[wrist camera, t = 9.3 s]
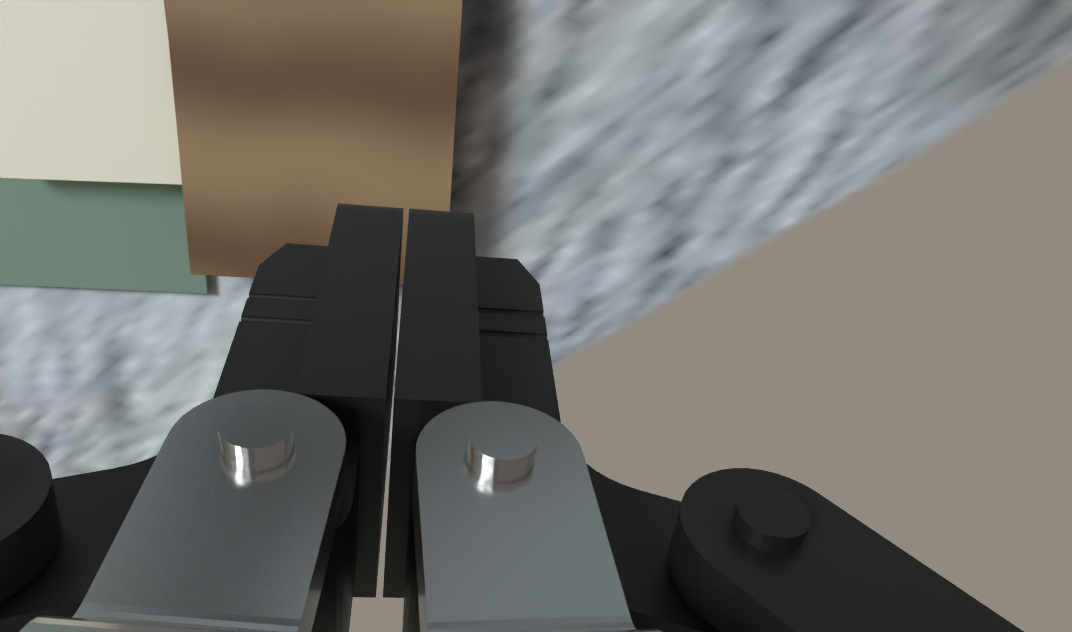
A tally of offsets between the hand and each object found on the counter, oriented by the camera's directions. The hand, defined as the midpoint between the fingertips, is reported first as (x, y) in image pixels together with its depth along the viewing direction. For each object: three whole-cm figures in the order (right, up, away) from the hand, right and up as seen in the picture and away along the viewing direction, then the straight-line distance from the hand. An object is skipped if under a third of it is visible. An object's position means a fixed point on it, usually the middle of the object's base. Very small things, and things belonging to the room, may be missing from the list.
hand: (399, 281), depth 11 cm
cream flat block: (-13, +9, +20) cm, 26 cm away
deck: (-6, +9, +22) cm, 24 cm away
